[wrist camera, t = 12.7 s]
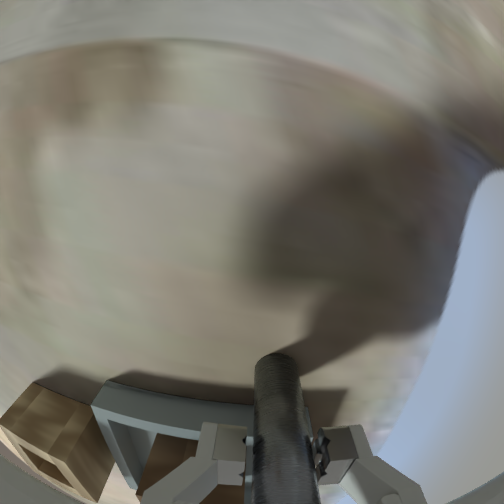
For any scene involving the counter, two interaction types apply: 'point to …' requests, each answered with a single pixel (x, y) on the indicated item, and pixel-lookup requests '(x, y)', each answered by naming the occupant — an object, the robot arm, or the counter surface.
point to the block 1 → (59, 440)
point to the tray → (162, 424)
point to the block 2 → (173, 455)
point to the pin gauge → (281, 436)
